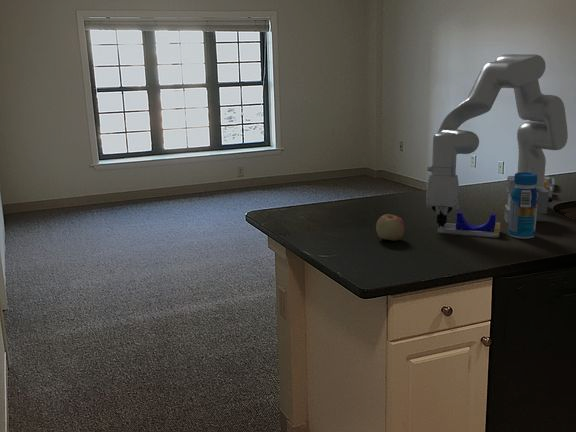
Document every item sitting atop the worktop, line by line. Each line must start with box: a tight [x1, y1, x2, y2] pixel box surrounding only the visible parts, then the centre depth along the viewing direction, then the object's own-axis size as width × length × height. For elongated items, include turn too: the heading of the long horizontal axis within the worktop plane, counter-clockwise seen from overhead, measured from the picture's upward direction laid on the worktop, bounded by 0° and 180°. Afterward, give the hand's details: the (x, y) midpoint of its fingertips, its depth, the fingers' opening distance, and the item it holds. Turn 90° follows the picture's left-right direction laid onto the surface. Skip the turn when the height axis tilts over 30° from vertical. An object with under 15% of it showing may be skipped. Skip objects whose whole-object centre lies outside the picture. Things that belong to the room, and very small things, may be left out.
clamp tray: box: [506, 186, 553, 199], centre depth 257 cm, size 9×17×3 cm, turn 69°
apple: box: [375, 213, 406, 242], centre depth 200 cm, size 9×9×8 cm
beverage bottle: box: [507, 172, 538, 240], centre depth 200 cm, size 8×8×20 cm
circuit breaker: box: [503, 175, 553, 224], centre depth 218 cm, size 8×14×15 cm, turn 78°
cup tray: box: [546, 176, 555, 192], centre depth 271 cm, size 15×15×3 cm
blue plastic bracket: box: [455, 210, 497, 232], centre depth 207 cm, size 12×4×6 cm, turn 70°
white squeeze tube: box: [437, 221, 502, 239], centre depth 207 cm, size 8×19×3 cm, turn 69°
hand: (441, 225), depth 210 cm, fingers closed
